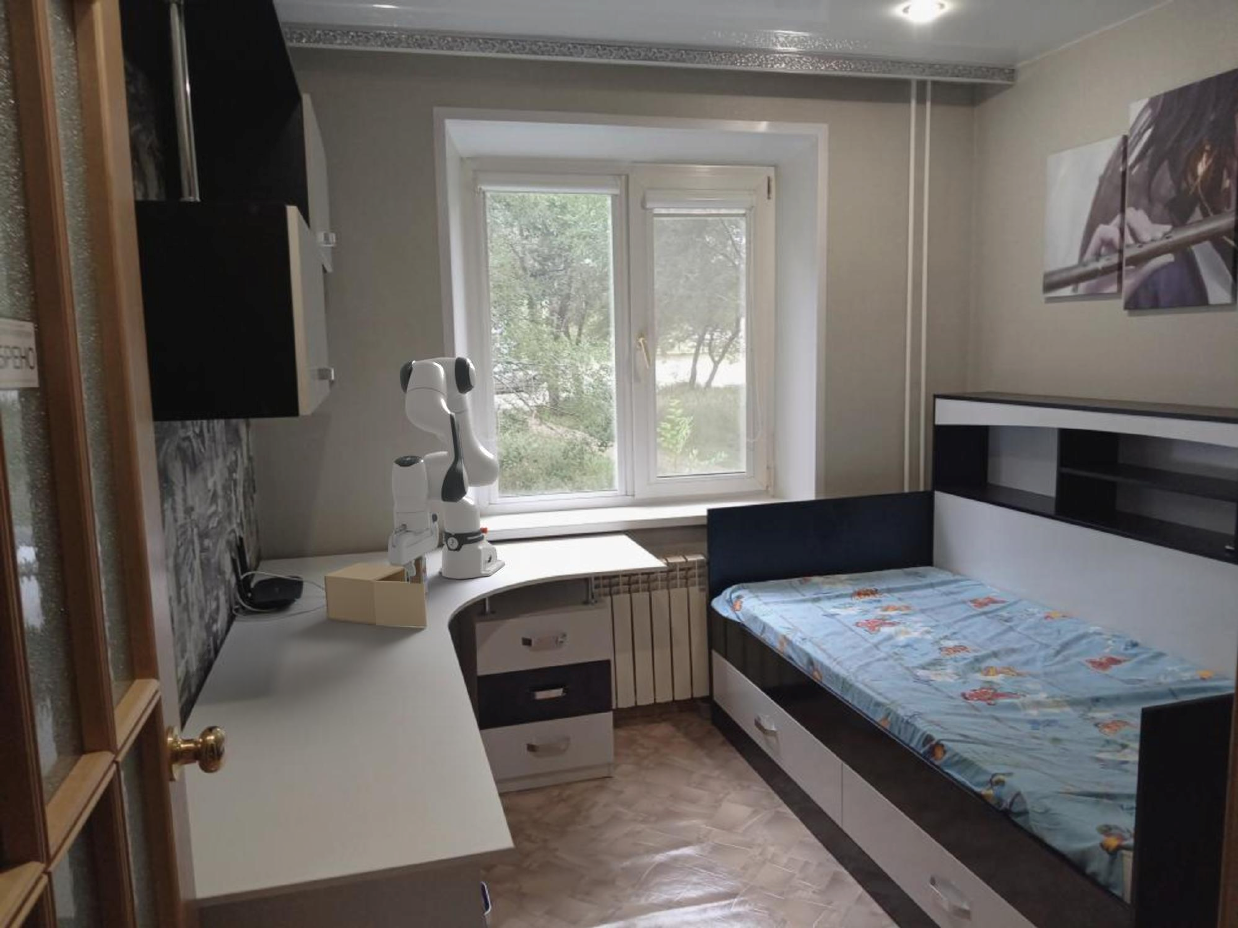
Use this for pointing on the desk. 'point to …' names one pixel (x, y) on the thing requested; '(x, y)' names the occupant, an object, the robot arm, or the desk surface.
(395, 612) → the side flap
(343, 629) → the desk surface
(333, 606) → the carton
